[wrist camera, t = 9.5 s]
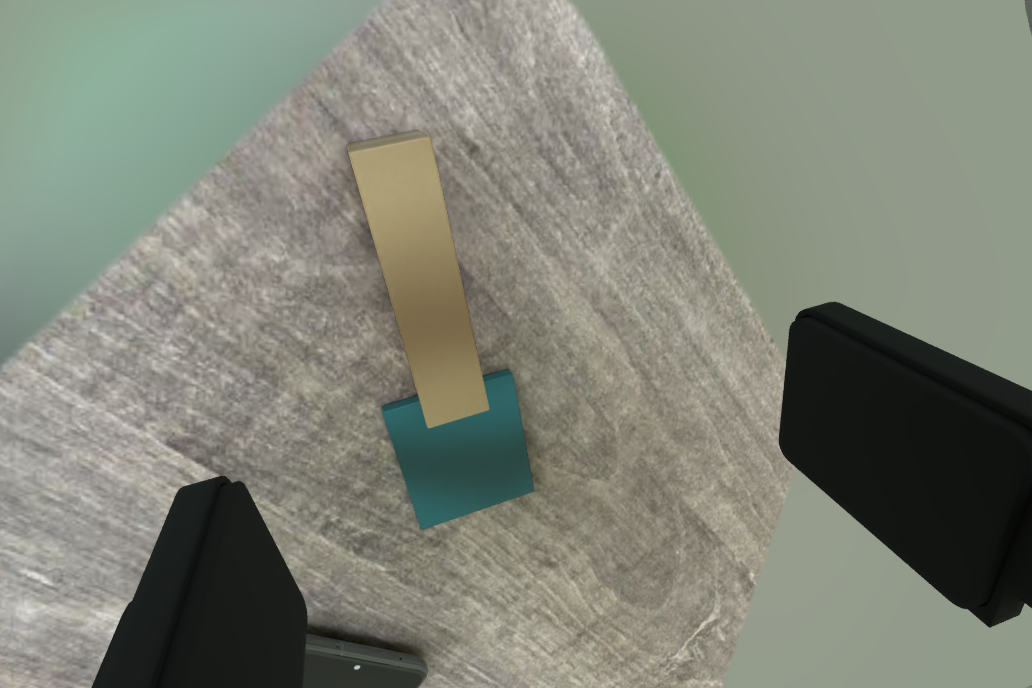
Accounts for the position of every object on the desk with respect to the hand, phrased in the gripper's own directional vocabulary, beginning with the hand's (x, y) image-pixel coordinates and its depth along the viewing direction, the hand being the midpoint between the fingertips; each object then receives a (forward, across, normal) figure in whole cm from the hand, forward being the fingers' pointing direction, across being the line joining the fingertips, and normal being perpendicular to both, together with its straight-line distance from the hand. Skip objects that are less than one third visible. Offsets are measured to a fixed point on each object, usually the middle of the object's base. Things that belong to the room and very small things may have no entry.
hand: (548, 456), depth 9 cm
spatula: (+11, +1, +3) cm, 11 cm away
